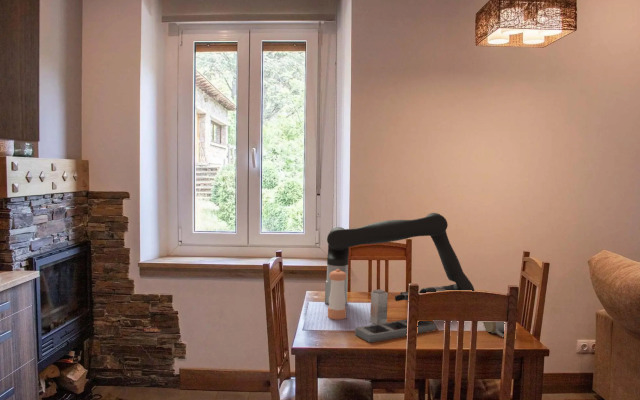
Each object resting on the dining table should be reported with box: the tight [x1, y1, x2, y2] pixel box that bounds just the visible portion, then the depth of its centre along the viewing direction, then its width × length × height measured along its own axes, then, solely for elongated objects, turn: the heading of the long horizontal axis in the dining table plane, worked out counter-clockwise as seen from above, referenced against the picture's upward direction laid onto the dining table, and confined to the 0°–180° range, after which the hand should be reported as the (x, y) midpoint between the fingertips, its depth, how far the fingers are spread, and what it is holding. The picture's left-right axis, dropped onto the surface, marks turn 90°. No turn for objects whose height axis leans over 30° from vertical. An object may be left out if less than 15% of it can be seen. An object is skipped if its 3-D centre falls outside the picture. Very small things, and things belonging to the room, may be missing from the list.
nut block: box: [369, 289, 389, 325], centre depth 184 cm, size 4×4×13 cm
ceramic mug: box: [483, 322, 505, 338], centre depth 175 cm, size 11×8×8 cm
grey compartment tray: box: [354, 318, 438, 344], centre depth 174 cm, size 30×9×2 cm, turn 119°
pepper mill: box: [327, 269, 347, 320], centre depth 190 cm, size 7×7×19 cm
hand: (402, 300), depth 189 cm, fingers open, 8 cm apart
